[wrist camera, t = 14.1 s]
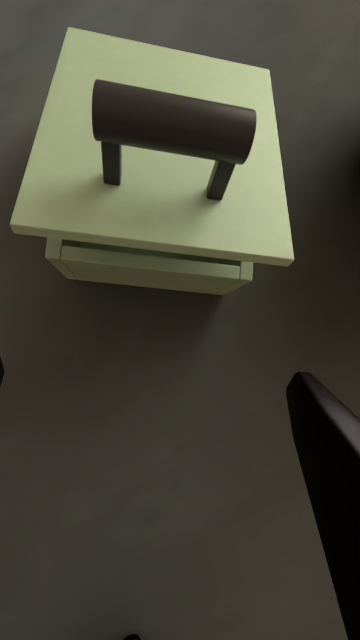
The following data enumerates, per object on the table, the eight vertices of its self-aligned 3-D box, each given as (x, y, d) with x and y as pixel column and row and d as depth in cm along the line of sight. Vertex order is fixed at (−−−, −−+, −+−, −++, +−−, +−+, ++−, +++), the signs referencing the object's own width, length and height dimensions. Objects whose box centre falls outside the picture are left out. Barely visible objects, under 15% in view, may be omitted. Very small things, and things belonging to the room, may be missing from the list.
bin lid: (288, 267, 14) (353, 194, 10) (13, 233, 13) (-39, 131, 8) (265, 80, 19) (302, -17, 15) (69, 39, 18) (53, -82, 14)
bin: (224, 295, 24) (252, 280, 18) (67, 278, 22) (44, 257, 17) (234, 139, 25) (265, 79, 19) (85, 112, 24) (69, 38, 18)
